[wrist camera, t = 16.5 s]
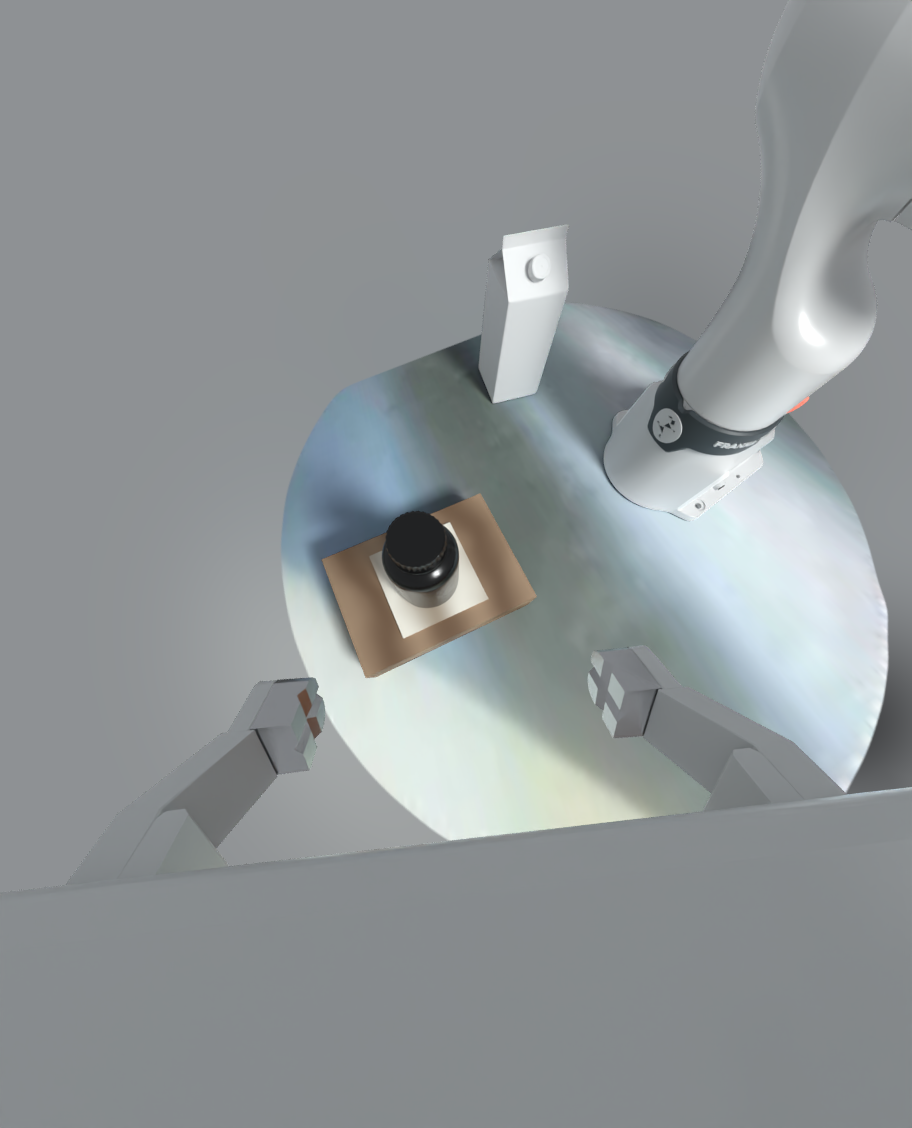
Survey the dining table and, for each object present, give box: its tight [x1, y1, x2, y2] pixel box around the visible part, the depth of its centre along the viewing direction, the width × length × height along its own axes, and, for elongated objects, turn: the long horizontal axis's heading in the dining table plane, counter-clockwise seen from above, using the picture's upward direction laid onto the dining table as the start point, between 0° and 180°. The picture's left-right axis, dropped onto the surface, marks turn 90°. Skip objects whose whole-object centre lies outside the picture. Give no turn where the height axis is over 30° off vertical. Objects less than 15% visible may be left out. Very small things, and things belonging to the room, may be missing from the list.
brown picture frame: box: [322, 494, 537, 678], centre depth 40 cm, size 20×14×5 cm
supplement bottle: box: [382, 511, 459, 608], centre depth 32 cm, size 7×7×12 cm
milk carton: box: [479, 224, 569, 403], centre depth 44 cm, size 7×7×19 cm
